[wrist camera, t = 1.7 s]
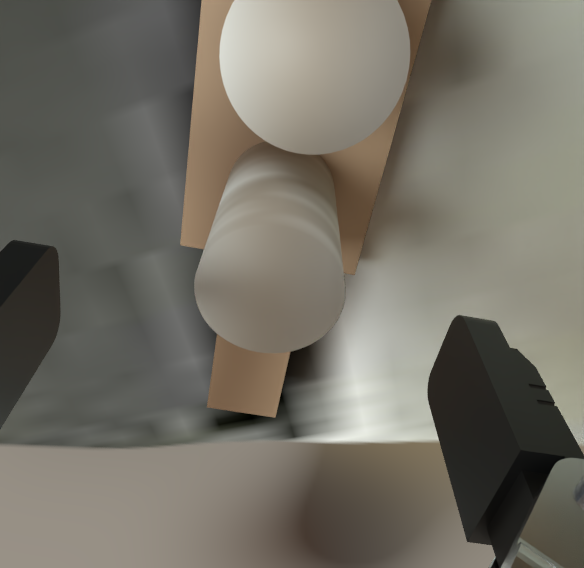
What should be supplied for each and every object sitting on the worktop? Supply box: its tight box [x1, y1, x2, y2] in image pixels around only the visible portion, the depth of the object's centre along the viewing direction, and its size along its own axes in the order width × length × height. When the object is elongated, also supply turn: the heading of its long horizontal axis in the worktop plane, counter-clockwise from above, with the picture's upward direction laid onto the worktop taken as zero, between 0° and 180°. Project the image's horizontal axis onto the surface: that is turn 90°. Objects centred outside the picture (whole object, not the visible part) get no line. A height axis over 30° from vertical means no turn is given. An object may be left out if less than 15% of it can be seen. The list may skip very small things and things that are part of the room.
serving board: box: [180, 0, 432, 417], centre depth 16 cm, size 6×16×7 cm, turn 170°
